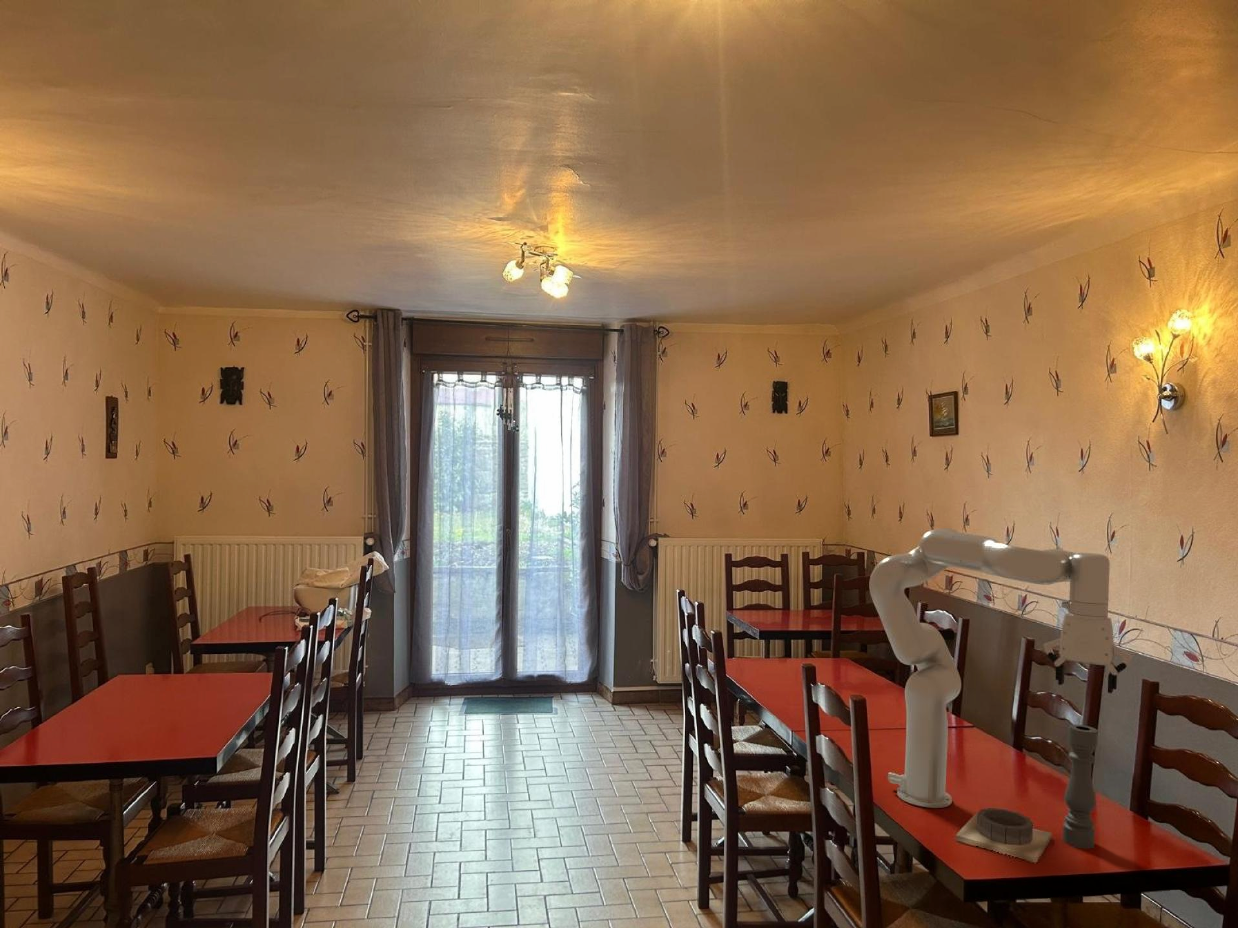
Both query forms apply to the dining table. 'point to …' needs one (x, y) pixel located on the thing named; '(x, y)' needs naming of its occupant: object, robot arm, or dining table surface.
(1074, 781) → the dark grey pepper mill
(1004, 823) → the collar base
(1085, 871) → the dining table surface
